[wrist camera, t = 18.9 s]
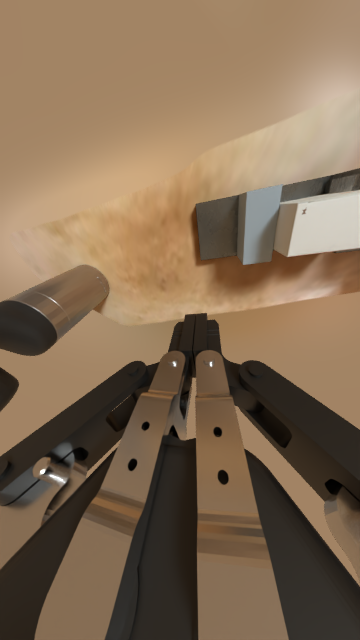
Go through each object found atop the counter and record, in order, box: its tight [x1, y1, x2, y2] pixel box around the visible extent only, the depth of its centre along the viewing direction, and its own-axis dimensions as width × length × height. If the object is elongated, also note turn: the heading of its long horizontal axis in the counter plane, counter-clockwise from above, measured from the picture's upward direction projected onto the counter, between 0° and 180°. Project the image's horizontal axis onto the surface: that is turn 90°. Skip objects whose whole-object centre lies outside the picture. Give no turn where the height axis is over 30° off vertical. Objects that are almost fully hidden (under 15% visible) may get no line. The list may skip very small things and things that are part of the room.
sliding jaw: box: [237, 184, 283, 265], centre depth 24 cm, size 4×9×6 cm, turn 10°
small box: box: [273, 190, 360, 257], centre depth 21 cm, size 8×6×10 cm
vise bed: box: [196, 168, 360, 260], centre depth 25 cm, size 23×9×8 cm, turn 100°
